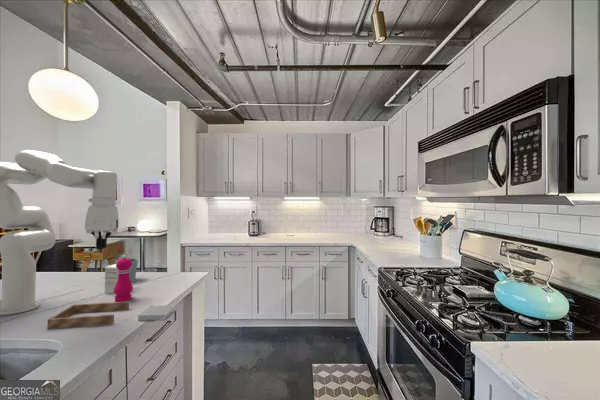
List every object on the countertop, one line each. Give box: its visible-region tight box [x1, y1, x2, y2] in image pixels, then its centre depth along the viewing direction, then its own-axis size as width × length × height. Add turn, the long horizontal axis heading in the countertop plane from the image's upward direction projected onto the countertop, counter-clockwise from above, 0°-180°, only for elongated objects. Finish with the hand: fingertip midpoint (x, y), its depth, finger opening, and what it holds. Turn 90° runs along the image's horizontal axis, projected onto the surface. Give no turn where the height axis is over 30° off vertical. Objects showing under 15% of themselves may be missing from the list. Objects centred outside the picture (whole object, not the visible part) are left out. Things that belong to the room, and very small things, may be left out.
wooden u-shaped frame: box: [46, 301, 130, 329], centre depth 100 cm, size 20×14×3 cm
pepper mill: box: [113, 254, 134, 302], centre depth 120 cm, size 7×7×20 cm
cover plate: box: [137, 305, 177, 322], centre depth 103 cm, size 10×9×2 cm
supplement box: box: [104, 263, 118, 294], centre depth 131 cm, size 7×7×13 cm
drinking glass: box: [115, 257, 139, 284], centre depth 146 cm, size 10×10×12 cm
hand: (101, 248), depth 105 cm, fingers closed
